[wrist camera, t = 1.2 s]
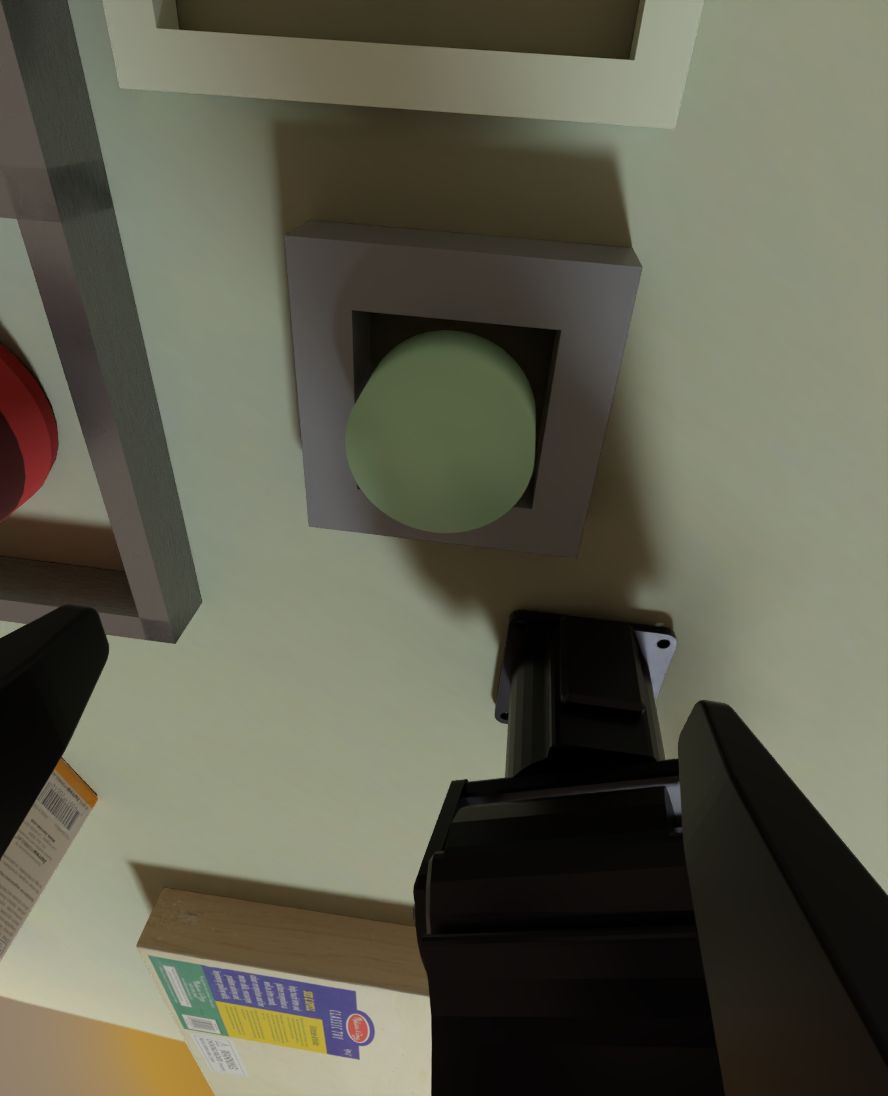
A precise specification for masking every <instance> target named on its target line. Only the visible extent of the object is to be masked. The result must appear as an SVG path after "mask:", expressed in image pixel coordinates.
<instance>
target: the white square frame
mask: <svg viewBox="0 0 888 1096" xmlns="http://www.w3.org/2000/svg"><path fill="white" fill-rule="evenodd" d="M102 2H103V7H104V12H105V17H106V22H107V27H108V32H109V37H110V42H111V47H112V52H113V57H114V62H115V67H116V72H117V77H118V82H119V87H120V88H126V89H139V90H153V91H167V92H180V93H194V94H207V95H221V96H234V97H248V98H262V99H275V100H289V101H302V102H316V103H329V104H343V105H357V106H370V107H384V108H397V109H411V110H424V111H438V112H452V113H465V114H479V115H492V116H506V117H520V118H533V119H547V120H560V121H574V122H587V123H601V124H615V125H628V126H642V127H655V128H669V129H675V127H676V122H677V118H678V114H679V109H680V105H681V100H682V96H683V92H684V87H685V83H686V78H687V74H688V69H689V65H690V61H691V56H692V52H693V47H694V43H695V39H696V34H697V30H698V25H699V21H700V16H701V12H702V8H703V3H704V0H640V2H639V8H638V13H637V19H636V24H635V30H634V36H633V41H632V47H631V52H630V58H629V60H622V59H607V58H592V57H578V56H563V55H548V54H533V53H518V52H503V51H488V50H473V49H458V48H443V47H428V46H413V45H398V44H383V43H368V42H353V41H338V40H323V39H308V38H293V37H278V36H263V35H248V34H233V33H218V32H203V31H189V30H180V29H179V22H178V16H177V9H176V2H175V0H102Z"/></svg>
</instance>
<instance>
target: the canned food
mask: <svg viewBox="0 0 888 1096" xmlns="http://www.w3.org/2000/svg"><path fill="white" fill-rule="evenodd" d="M57 450H58V431H57V425H56V422H55V418H54V415H53V411H52V409H51V407H50V405H49V403H48V401H47V399H46V397H45V394H44V392H43V391H42V389H41V388H40V386H39V385H38V383H37V382H36V380H35V379H34V378H33V376H32V375H31V373H30V372H29V371H28V370H27V369H26V368H25V366H24V365H23V364H22V363H21V362H20V361H19V360H18V359H17V358H16V357H15V356H14V354H13V353H11V352H10V351H9V350H8V349H7V348H5V347H4V346H3V345H2V344H1V343H0V522H2V521H3V520H4V519H5V518H6V517H8V516H9V515H10V514H11V513H12V512H14V511H15V510H16V509H17V508H18V507H20V506H21V505H22V504H23V503H24V502H26V501H27V500H28V499H29V498H31V497H32V496H33V495H34V494H35V493H36V492H37V491H38V490H39V489H40V488H41V487H42V486H43V484H44V482H45V480H46V478H47V476H48V474H49V472H50V470H51V468H52V466H53V464H54V462H55V460H56V456H57Z"/></svg>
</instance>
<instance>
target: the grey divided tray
mask: <svg viewBox="0 0 888 1096" xmlns="http://www.w3.org/2000/svg"><path fill="white" fill-rule="evenodd" d="M0 217H2V218H14V219H17V221H18V224H19V227H20V230H21V234H22V237H23V240H24V243H25V247H26V250H27V253H28V256H29V260H30V263H31V266H32V269H33V273H34V276H35V279H36V282H37V286H38V289H39V292H40V295H41V299H42V302H43V305H44V308H45V312H46V315H47V318H48V321H49V325H50V328H51V331H52V334H53V338H54V341H55V344H56V347H57V351H58V354H59V357H60V360H61V364H62V367H63V370H64V373H65V377H66V380H67V383H68V386H69V390H70V393H71V396H72V399H73V403H74V406H75V409H76V412H77V416H78V419H79V422H80V426H81V429H82V432H83V435H84V439H85V442H86V445H87V448H88V452H89V455H90V458H91V461H92V465H93V468H94V471H95V474H96V478H97V481H98V484H99V487H100V491H101V494H102V497H103V500H104V504H105V507H106V510H107V513H108V517H109V520H110V523H111V526H112V530H113V533H114V536H115V539H116V543H117V546H118V549H119V552H120V556H121V559H122V562H123V565H124V569H125V572H121V571H113V570H105V569H97V568H90V567H82V566H74V565H66V564H58V563H50V562H42V561H34V560H26V559H18V558H11V557H3V556H0V620H1V621H9V622H16V623H24V624H28V623H30V622H32V621H34V620H36V619H38V618H40V617H42V616H44V615H45V614H47V613H49V612H51V611H53V610H55V609H57V608H59V607H61V606H63V605H66V604H76V605H82V606H89V607H93V608H95V609H96V610H97V611H98V613H99V616H100V619H101V622H102V625H103V628H104V631H105V634H106V635H113V636H121V637H128V638H136V639H143V640H151V641H158V642H166V643H173V644H176V642H177V640H178V639H179V637H180V636H181V634H182V633H183V631H184V630H185V628H186V627H187V625H188V624H189V622H190V620H191V619H192V617H193V616H194V614H195V613H196V611H197V610H198V608H199V607H200V605H201V604H202V600H201V596H200V591H199V587H198V582H197V578H196V573H195V569H194V565H193V560H192V556H191V551H190V547H189V542H188V538H187V533H186V529H185V524H184V520H183V516H182V511H181V507H180V502H179V498H178V493H177V489H176V484H175V480H174V475H173V471H172V467H171V462H170V458H169V453H168V449H167V444H166V440H165V435H164V431H163V426H162V422H161V418H160V413H159V409H158V404H157V400H156V395H155V391H154V386H153V382H152V377H151V373H150V369H149V364H148V360H147V355H146V351H145V346H144V342H143V337H142V333H141V328H140V324H139V320H138V315H137V311H136V306H135V302H134V297H133V293H132V288H131V284H130V279H129V275H128V271H127V266H126V262H125V257H124V253H123V248H122V244H121V239H120V235H119V231H118V226H117V222H116V217H115V213H114V208H113V204H112V199H111V195H110V190H109V186H108V182H107V177H106V173H105V168H104V164H103V159H102V155H101V150H100V146H99V141H98V137H97V133H96V128H95V124H94V119H93V115H92V110H91V106H90V101H89V97H88V92H87V88H86V84H85V79H84V75H83V70H82V66H81V61H80V57H79V52H78V48H77V43H76V39H75V35H74V30H73V26H72V21H71V17H70V12H69V8H68V3H67V0H0Z"/></svg>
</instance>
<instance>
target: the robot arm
mask: <svg viewBox="0 0 888 1096" xmlns="http://www.w3.org/2000/svg"><path fill="white" fill-rule="evenodd" d="M519 621H524V622H526V623H525V624H520V623H518V622H519ZM661 639H666V641H661V642H660V641H659V640H661ZM676 646H677V640H676V636H675V633H674V631H672V630H671V629H669V628H665V627H657V626H649V625H641V624H633V623H625V622H617V621H609V620H601V619H593V618H585V617H577V616H569V615H561V614H553V613H545V612H537V611H529V610H517V611H514V612H513V613H512V614H511V615H510V617H509V624H508V630H507V636H506V643H505V649H504V655H503V662H502V668H501V674H500V681H499V687H498V693H497V700H496V706H495V718H496V719H497V721H499V722H501V723H505V724H508V735H507V753H506V771H505V778H497V779H488V780H479V781H470V782H468V780H467V779H464V780H456V781H452V782H451V784H450V787H449V790H448V793H447V795H446V798H445V801H444V803H443V806H442V809H441V812H440V814H439V817H438V820H437V822H436V825H435V828H434V831H433V833H432V836H431V839H430V841H429V844H428V847H427V850H426V852H425V855H424V858H423V861H422V863H421V867H420V870H419V873H418V875H417V878H416V881H415V884H414V890H413V893H414V901H415V904H414V908H413V918H414V922H415V926H416V934H417V943H418V947H419V952H420V956H421V960H422V962H423V965H424V968H425V971H426V973H427V978H428V986H429V998H430V1009H431V1036H432V1057H431V1096H888V895H887V894H886V893H885V891H884V890H883V889H882V888H881V886H880V885H879V884H878V883H877V882H876V880H875V879H874V878H873V877H872V876H871V874H870V873H869V872H868V871H867V870H866V868H865V867H864V866H863V865H862V864H861V862H860V861H859V860H858V859H857V858H856V856H855V855H854V854H853V853H852V852H851V850H850V849H849V848H848V847H847V846H846V844H845V843H844V842H843V841H842V840H841V838H840V837H839V836H838V835H837V834H836V832H835V831H834V830H833V829H832V828H831V826H830V825H829V824H828V823H827V821H826V820H825V819H824V818H823V817H822V815H821V814H820V813H819V812H818V811H817V809H816V808H815V807H814V806H813V805H812V803H811V802H810V801H809V800H808V799H807V797H806V796H805V795H804V794H803V793H802V791H801V790H800V789H799V788H798V787H797V785H796V784H795V783H794V782H793V781H792V779H791V778H790V777H789V776H788V775H787V773H786V772H785V771H784V770H783V769H782V767H781V766H780V765H779V764H778V763H777V761H776V760H775V759H774V758H773V757H772V755H771V754H770V753H769V752H768V750H767V749H766V748H765V747H764V746H763V744H762V743H761V742H760V741H759V740H758V738H757V737H756V736H755V735H754V734H753V732H752V731H751V730H750V729H749V728H748V726H747V725H746V724H745V723H744V722H743V720H742V719H741V718H740V717H739V716H738V714H737V713H736V712H735V711H734V710H733V709H732V707H730V706H729V705H727V704H725V703H720V702H714V701H707V700H700V701H698V702H697V703H696V704H695V706H694V708H693V710H692V712H691V714H690V716H689V718H688V720H687V722H686V723H685V725H684V727H683V729H682V731H681V734H680V737H679V742H678V759H669V760H665V755H664V749H663V744H662V738H661V732H660V727H659V721H658V715H657V710H656V704H655V701H656V699H657V696H658V693H659V691H660V688H661V685H662V683H663V680H664V678H665V675H666V672H667V670H668V667H669V664H670V662H671V659H672V657H673V654H674V651H675V649H676ZM108 655H109V643H108V640H107V637H106V634H105V631H104V628H103V625H102V622H101V619H100V616H99V613H98V611H97V610H96V609H95V608H93V607H89V606H82V605H76V604H66V605H63V606H61V607H59V608H57V609H55V610H53V611H51V612H49V613H47V614H45V615H44V616H42V617H40V618H38V619H36V620H34V621H32V622H30V623H28V624H27V625H25V626H23V627H21V628H19V629H17V630H15V631H13V632H11V633H10V634H8V635H6V636H4V637H2V638H0V860H1V858H2V857H3V855H4V853H5V851H6V850H7V848H8V846H9V845H10V843H11V841H12V840H13V838H14V836H15V835H16V833H17V831H18V830H19V828H20V826H21V825H22V823H23V821H24V819H25V818H26V816H27V814H28V813H29V811H30V809H31V808H32V806H33V804H34V803H35V801H36V799H37V798H38V796H39V794H40V793H41V791H42V789H43V787H44V786H45V784H46V782H47V781H48V779H49V777H50V776H51V774H52V772H53V771H54V769H55V767H56V766H57V764H58V762H59V760H60V759H61V757H62V755H63V753H64V751H65V750H66V748H67V746H68V744H69V742H70V740H71V738H72V736H73V733H74V731H75V729H76V727H77V725H78V723H79V720H80V718H81V716H82V714H83V712H84V709H85V707H86V705H87V703H88V701H89V698H90V696H91V694H92V692H93V690H94V688H95V685H96V683H97V681H98V679H99V677H100V674H101V672H102V670H103V668H104V666H105V664H106V661H107V658H108Z"/></svg>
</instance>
